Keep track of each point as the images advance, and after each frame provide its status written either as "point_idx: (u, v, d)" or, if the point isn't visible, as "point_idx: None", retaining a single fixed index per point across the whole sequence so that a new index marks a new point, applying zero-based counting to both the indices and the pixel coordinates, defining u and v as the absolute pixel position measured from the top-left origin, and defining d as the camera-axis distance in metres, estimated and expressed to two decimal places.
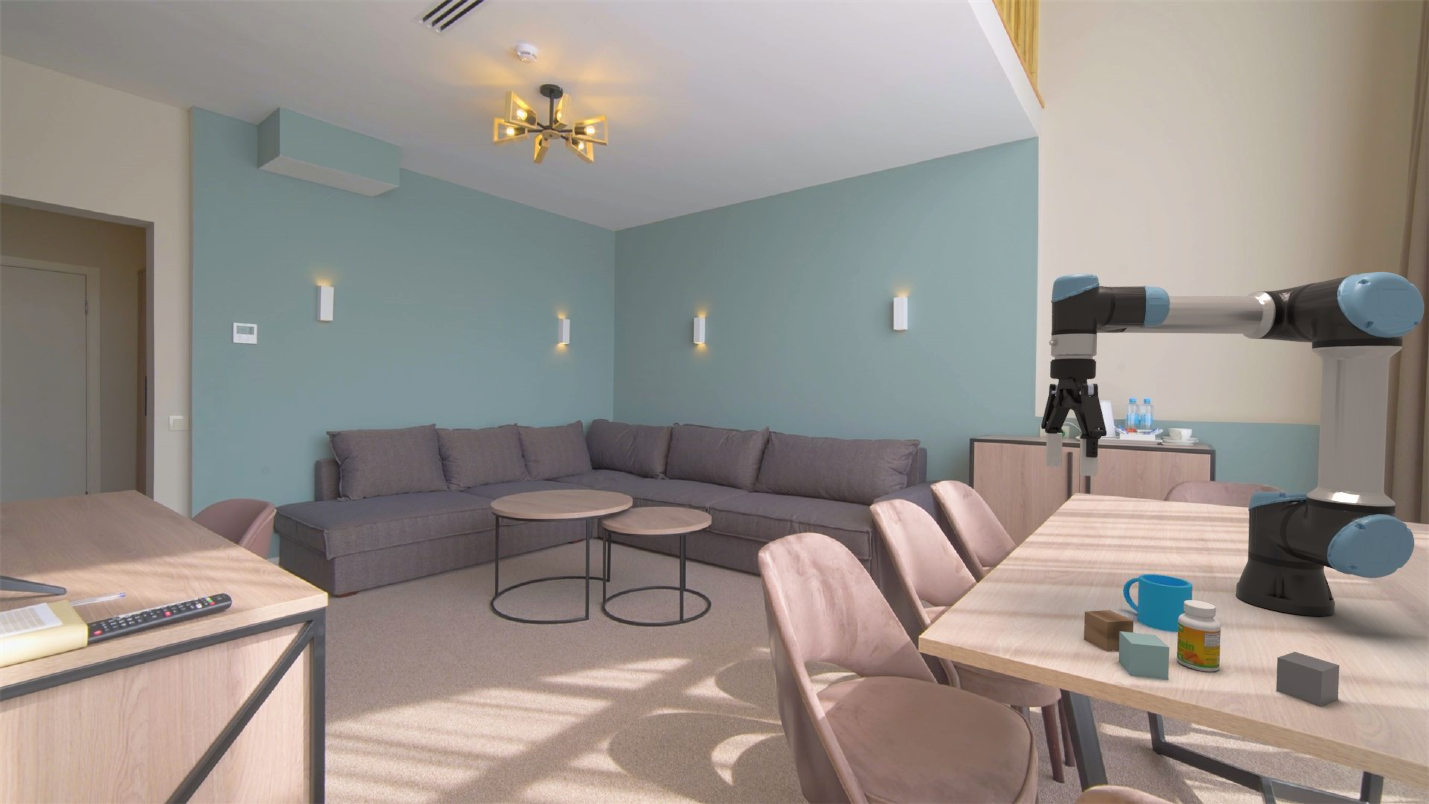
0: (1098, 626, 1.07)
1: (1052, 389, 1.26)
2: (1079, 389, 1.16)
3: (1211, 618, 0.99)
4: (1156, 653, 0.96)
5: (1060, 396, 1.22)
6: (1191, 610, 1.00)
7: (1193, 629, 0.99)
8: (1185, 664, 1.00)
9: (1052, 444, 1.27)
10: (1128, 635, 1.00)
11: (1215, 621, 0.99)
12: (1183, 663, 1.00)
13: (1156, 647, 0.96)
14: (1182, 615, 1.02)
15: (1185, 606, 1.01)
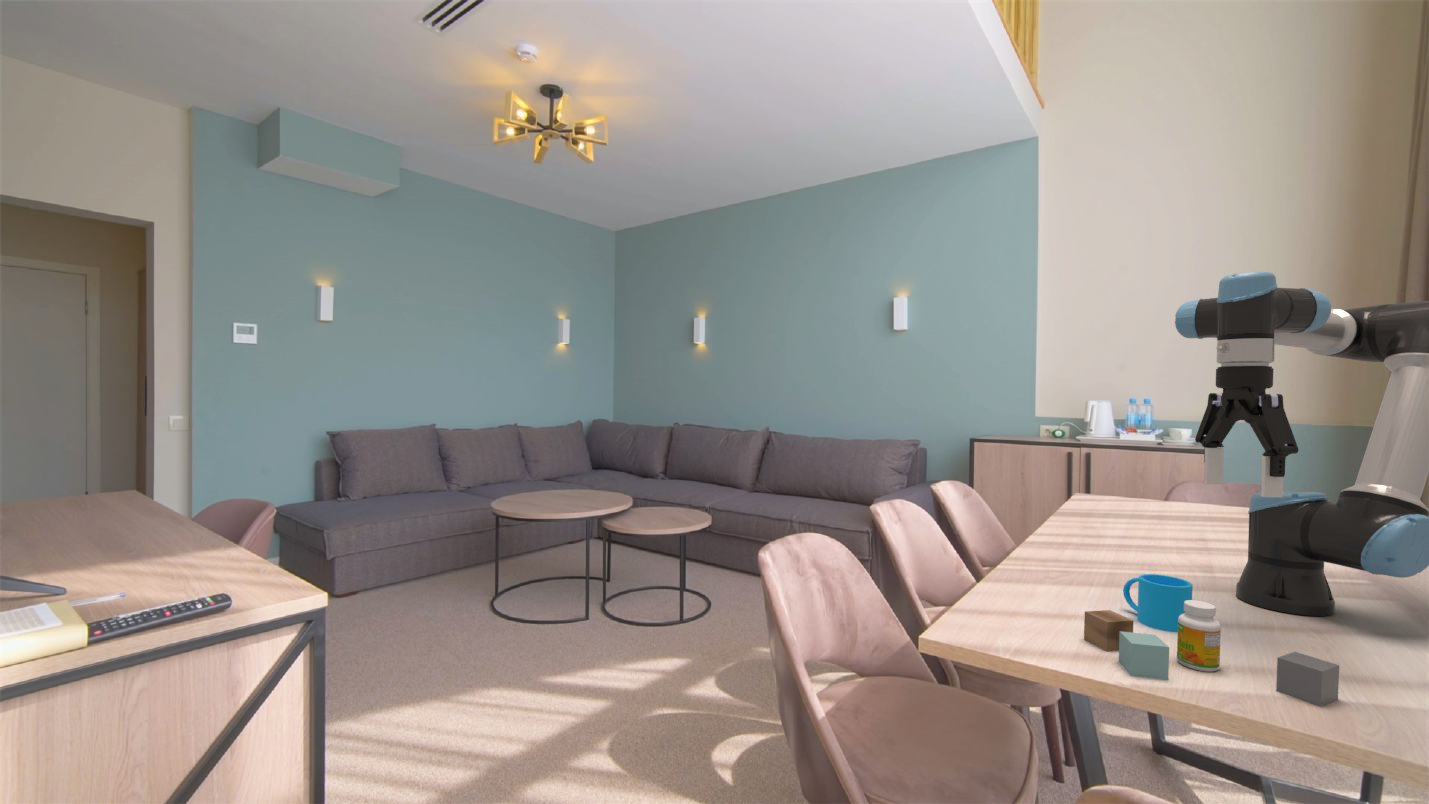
0: (1098, 626, 1.07)
1: (1213, 399, 1.14)
2: (1257, 400, 1.04)
3: (1211, 618, 0.99)
4: (1156, 653, 0.96)
5: (1228, 407, 1.10)
6: (1191, 610, 1.00)
7: (1193, 629, 0.99)
8: (1185, 664, 1.00)
9: (1212, 459, 1.15)
10: (1128, 635, 1.00)
11: (1215, 621, 0.99)
12: (1183, 663, 1.00)
13: (1156, 647, 0.96)
14: (1182, 615, 1.02)
15: (1185, 606, 1.01)
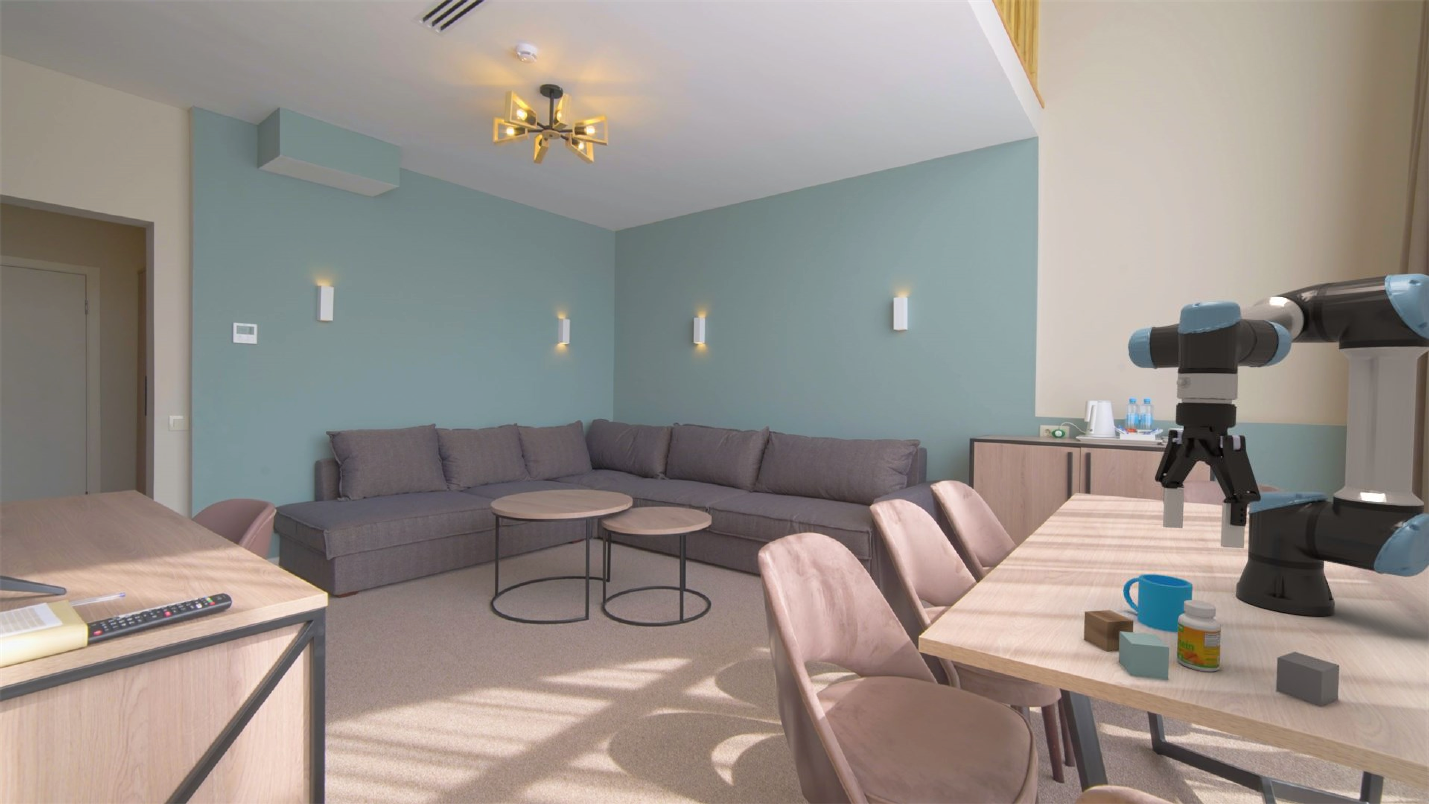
0: (1098, 626, 1.07)
1: (1173, 436, 1.06)
2: (1218, 441, 0.96)
3: (1211, 618, 0.99)
4: (1156, 653, 0.96)
5: (1188, 446, 1.01)
6: (1191, 610, 1.00)
7: (1193, 629, 0.99)
8: (1185, 664, 1.00)
9: (1172, 501, 1.07)
10: (1128, 635, 1.00)
11: (1215, 621, 0.99)
12: (1183, 663, 1.00)
13: (1156, 647, 0.96)
14: (1182, 615, 1.02)
15: (1185, 606, 1.01)
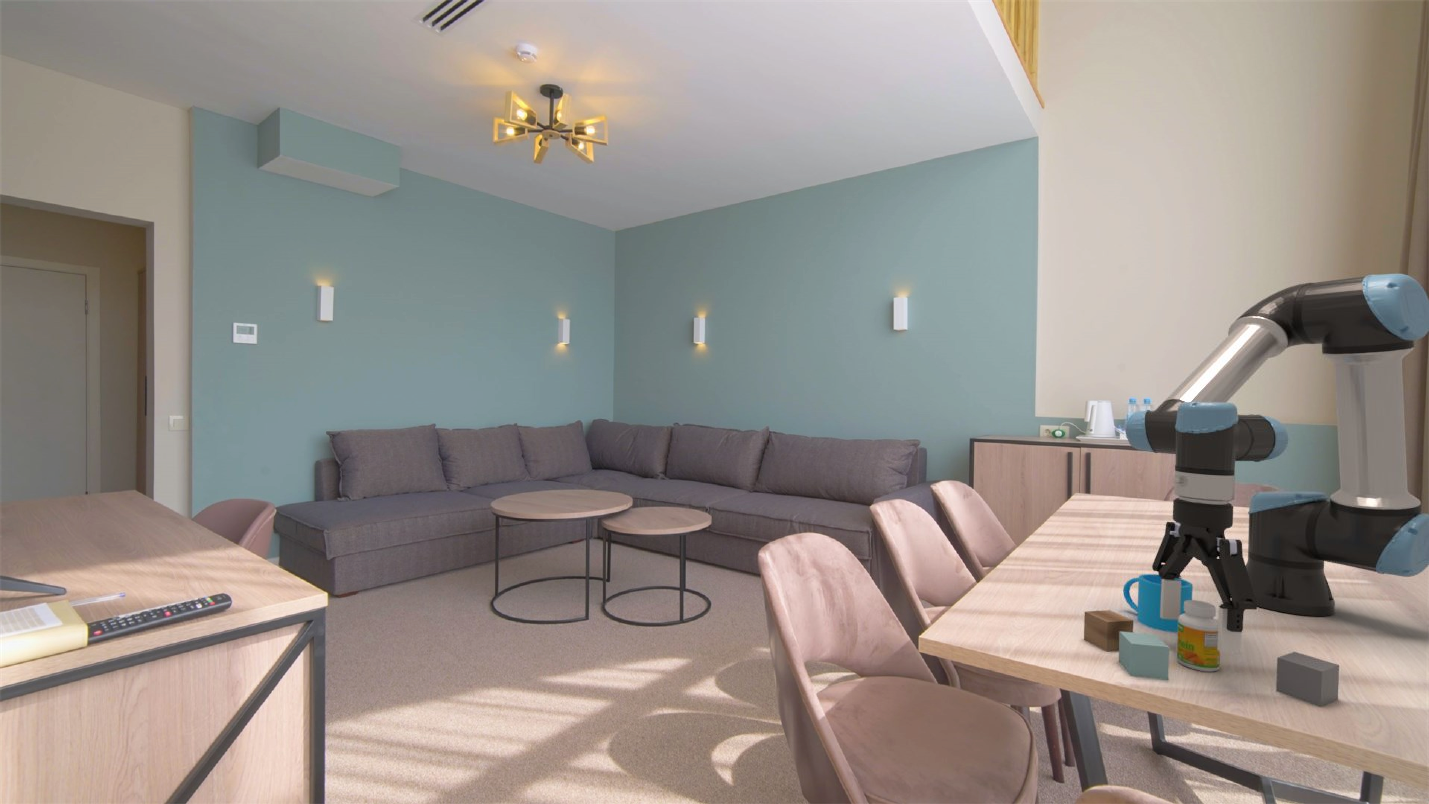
0: (1098, 626, 1.07)
1: (1170, 529, 1.06)
2: (1215, 543, 0.96)
3: (1211, 618, 0.99)
4: (1156, 653, 0.96)
5: (1185, 543, 1.02)
6: (1191, 610, 1.00)
7: (1193, 629, 0.99)
8: (1185, 664, 1.00)
9: (1169, 593, 1.07)
10: (1128, 635, 1.00)
11: (1215, 621, 0.99)
12: (1183, 663, 1.00)
13: (1155, 647, 0.96)
14: (1182, 615, 1.02)
15: (1185, 606, 1.01)
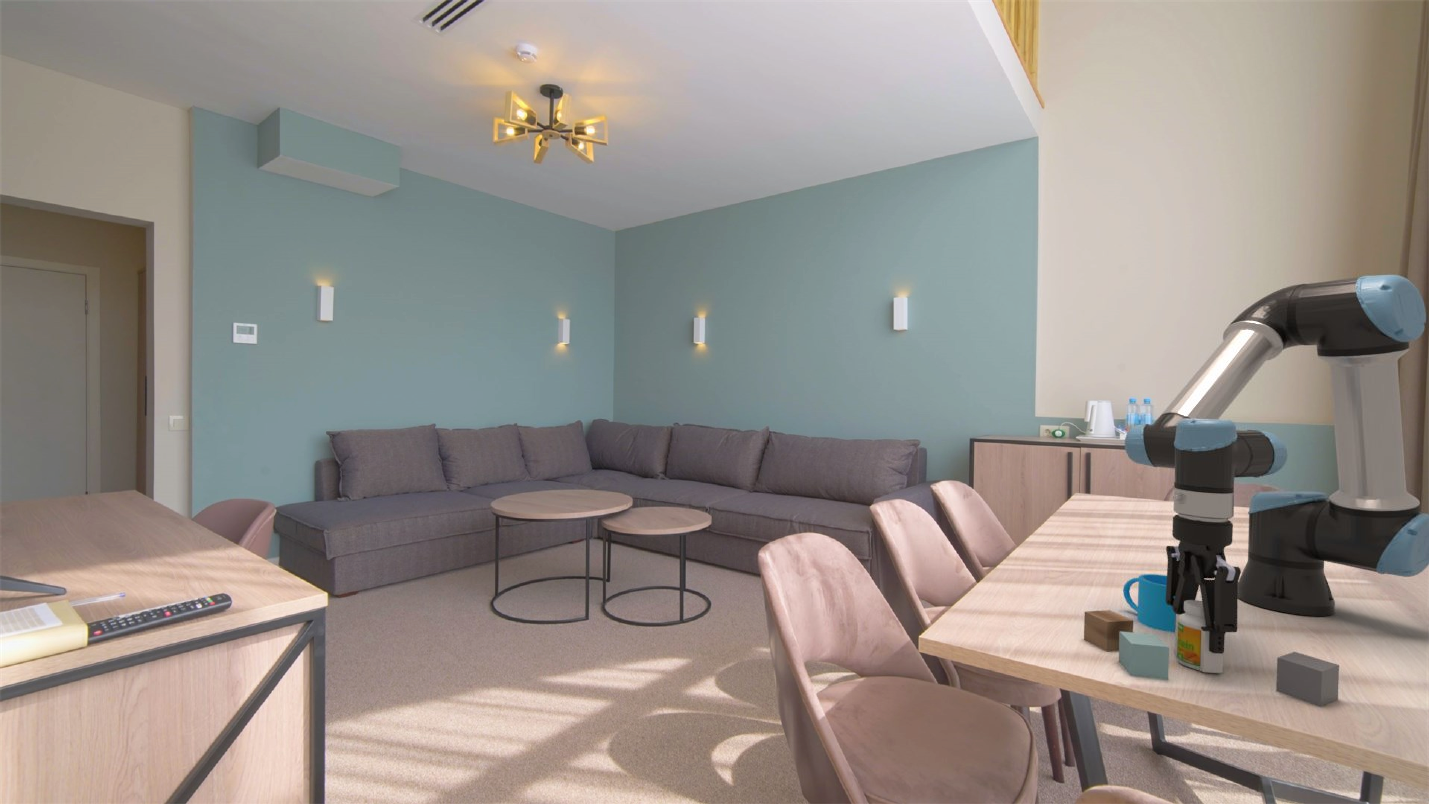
0: (1098, 626, 1.07)
1: (1171, 552, 1.06)
2: (1214, 563, 0.97)
3: None
4: (1156, 653, 0.96)
5: (1186, 560, 1.02)
6: (1191, 610, 1.00)
7: (1193, 629, 0.99)
8: (1185, 664, 1.00)
9: None
10: (1128, 635, 1.00)
11: None
12: (1183, 663, 1.00)
13: (1155, 647, 0.96)
14: (1182, 615, 1.02)
15: (1185, 606, 1.01)
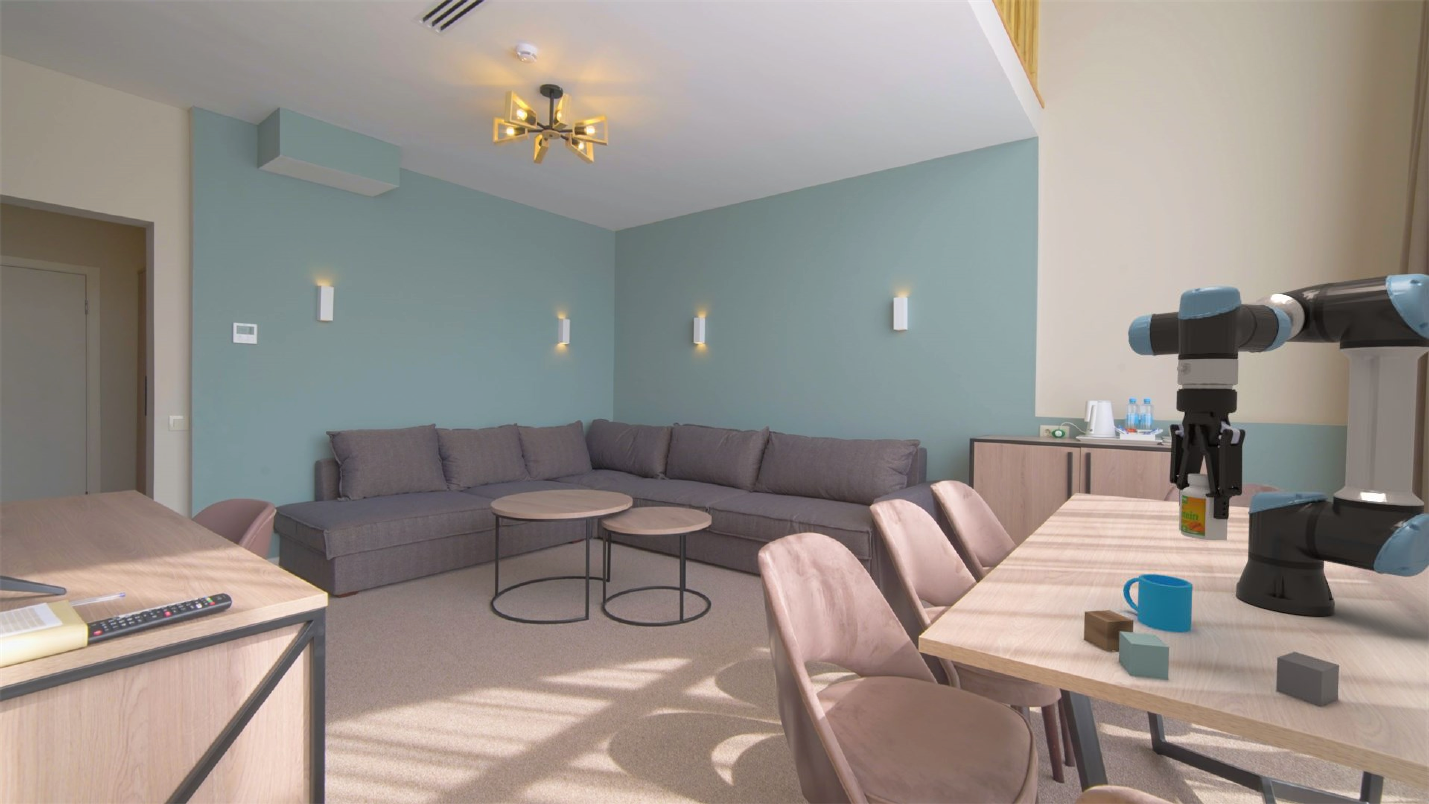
0: (1098, 626, 1.07)
1: (1175, 429, 1.06)
2: (1219, 429, 0.96)
3: None
4: (1156, 653, 0.96)
5: (1190, 432, 1.01)
6: (1195, 480, 0.99)
7: (1197, 498, 0.99)
8: (1189, 535, 1.00)
9: None
10: (1128, 635, 1.00)
11: None
12: (1187, 534, 1.00)
13: (1155, 647, 0.96)
14: (1186, 488, 1.01)
15: (1189, 478, 1.01)
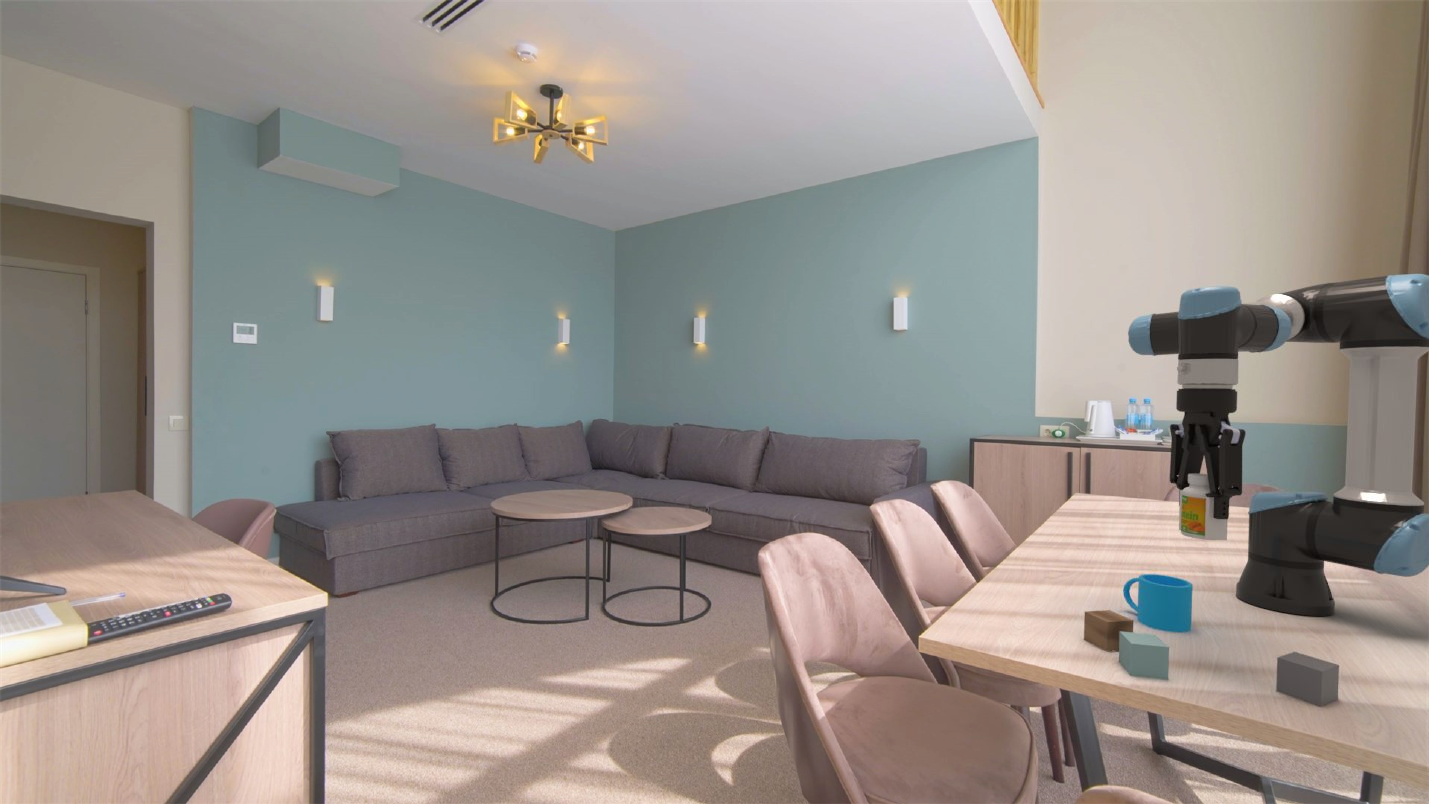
0: (1098, 626, 1.07)
1: (1175, 429, 1.06)
2: (1219, 429, 0.96)
3: None
4: (1156, 653, 0.96)
5: (1190, 432, 1.01)
6: (1195, 480, 0.99)
7: (1197, 498, 0.99)
8: (1189, 535, 1.00)
9: None
10: (1128, 635, 1.00)
11: None
12: (1187, 534, 1.00)
13: (1155, 647, 0.96)
14: (1186, 488, 1.01)
15: (1189, 478, 1.01)
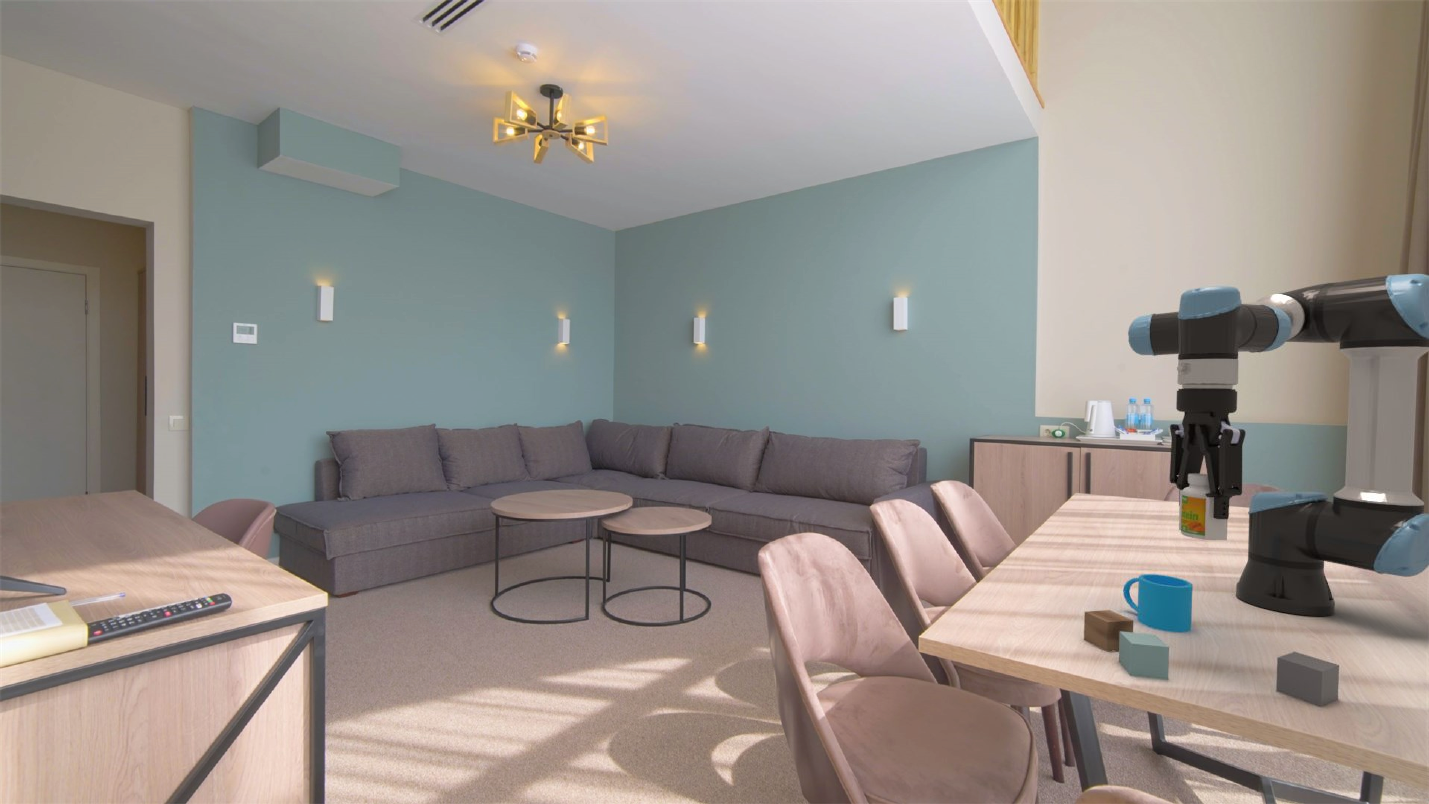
0: (1098, 626, 1.07)
1: (1175, 429, 1.06)
2: (1219, 429, 0.96)
3: None
4: (1156, 653, 0.96)
5: (1190, 432, 1.01)
6: (1195, 480, 0.99)
7: (1197, 498, 0.99)
8: (1189, 535, 1.00)
9: None
10: (1128, 635, 1.00)
11: None
12: (1187, 534, 1.00)
13: (1155, 647, 0.96)
14: (1186, 488, 1.01)
15: (1189, 478, 1.01)
